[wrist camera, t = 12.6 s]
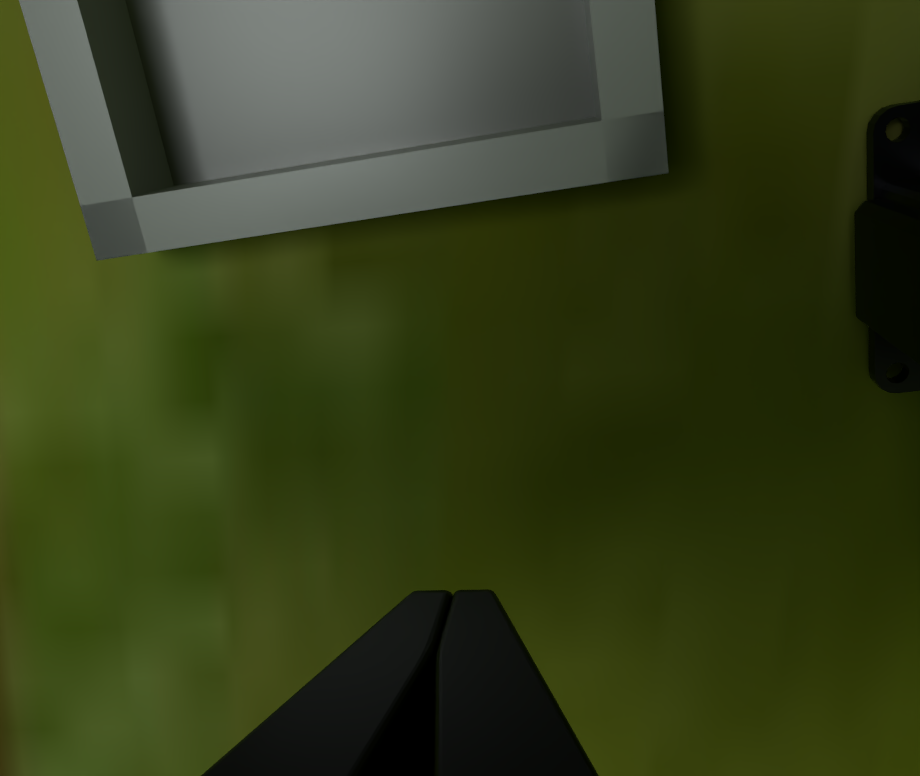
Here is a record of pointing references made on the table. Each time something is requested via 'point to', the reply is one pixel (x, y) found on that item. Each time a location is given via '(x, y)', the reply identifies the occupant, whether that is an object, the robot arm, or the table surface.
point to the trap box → (338, 108)
